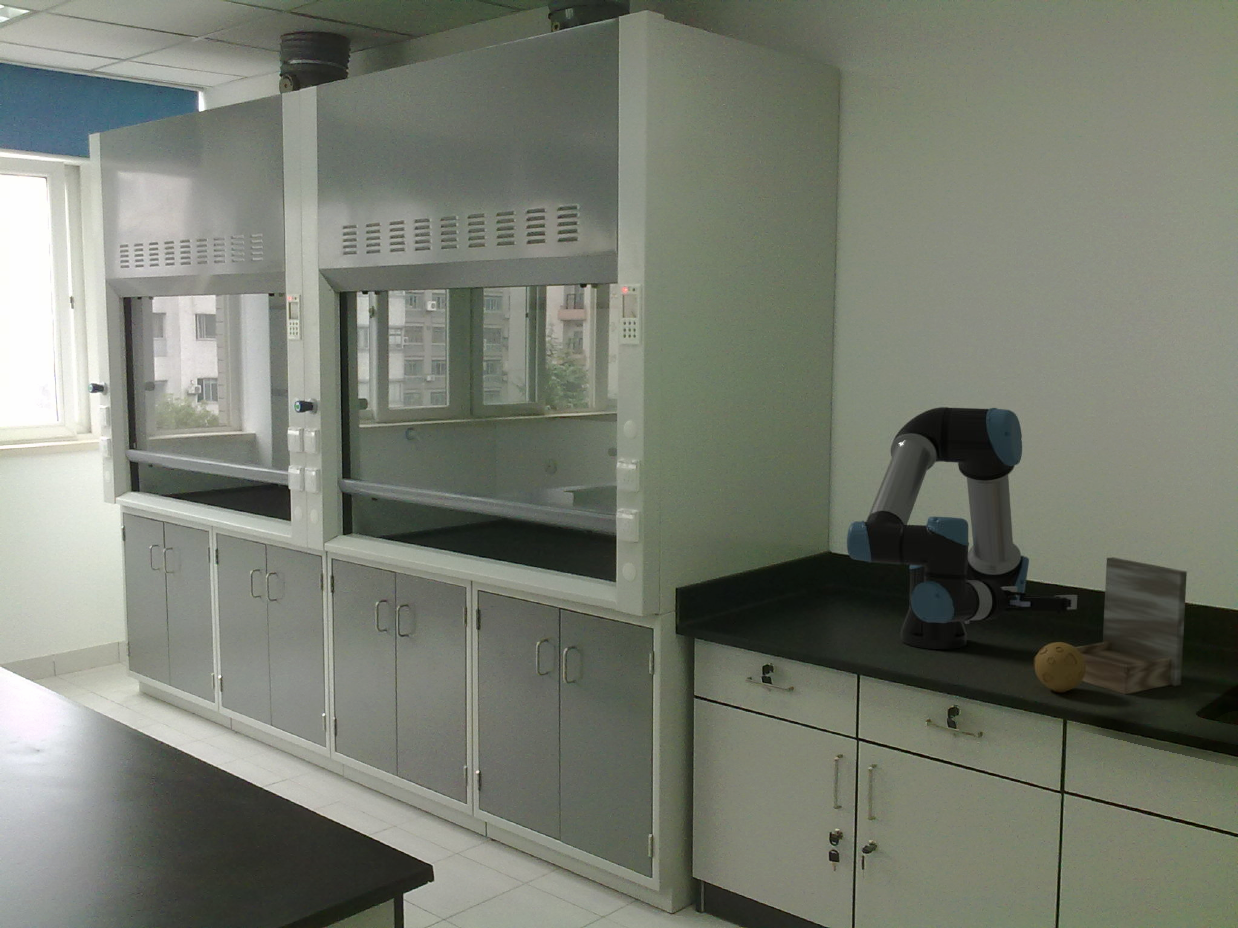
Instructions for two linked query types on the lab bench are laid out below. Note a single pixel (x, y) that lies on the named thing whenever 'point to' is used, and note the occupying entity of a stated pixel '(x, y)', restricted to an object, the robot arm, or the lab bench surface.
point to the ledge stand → (1139, 628)
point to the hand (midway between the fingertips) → (1044, 597)
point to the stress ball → (1060, 666)
